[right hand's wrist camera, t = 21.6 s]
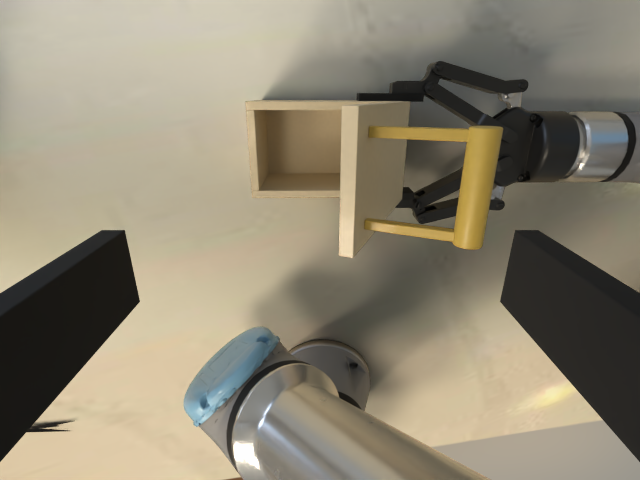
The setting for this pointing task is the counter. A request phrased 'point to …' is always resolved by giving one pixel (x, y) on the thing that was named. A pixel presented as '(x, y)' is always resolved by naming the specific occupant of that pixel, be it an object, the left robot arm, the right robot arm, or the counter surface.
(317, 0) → the counter surface
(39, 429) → the feather
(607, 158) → the left robot arm
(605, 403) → the right robot arm
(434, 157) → the counter surface
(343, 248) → the lid
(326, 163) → the chest
